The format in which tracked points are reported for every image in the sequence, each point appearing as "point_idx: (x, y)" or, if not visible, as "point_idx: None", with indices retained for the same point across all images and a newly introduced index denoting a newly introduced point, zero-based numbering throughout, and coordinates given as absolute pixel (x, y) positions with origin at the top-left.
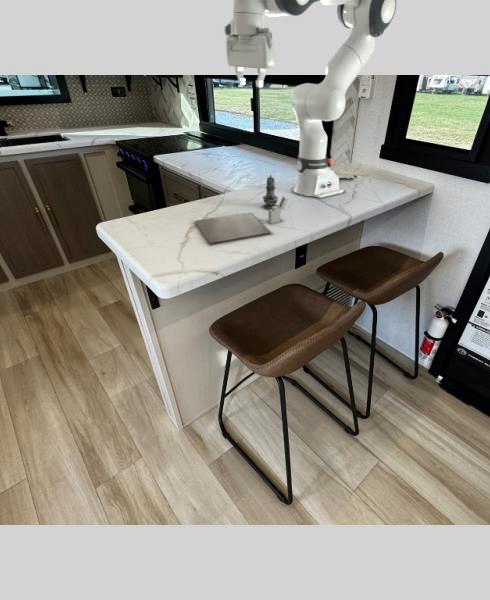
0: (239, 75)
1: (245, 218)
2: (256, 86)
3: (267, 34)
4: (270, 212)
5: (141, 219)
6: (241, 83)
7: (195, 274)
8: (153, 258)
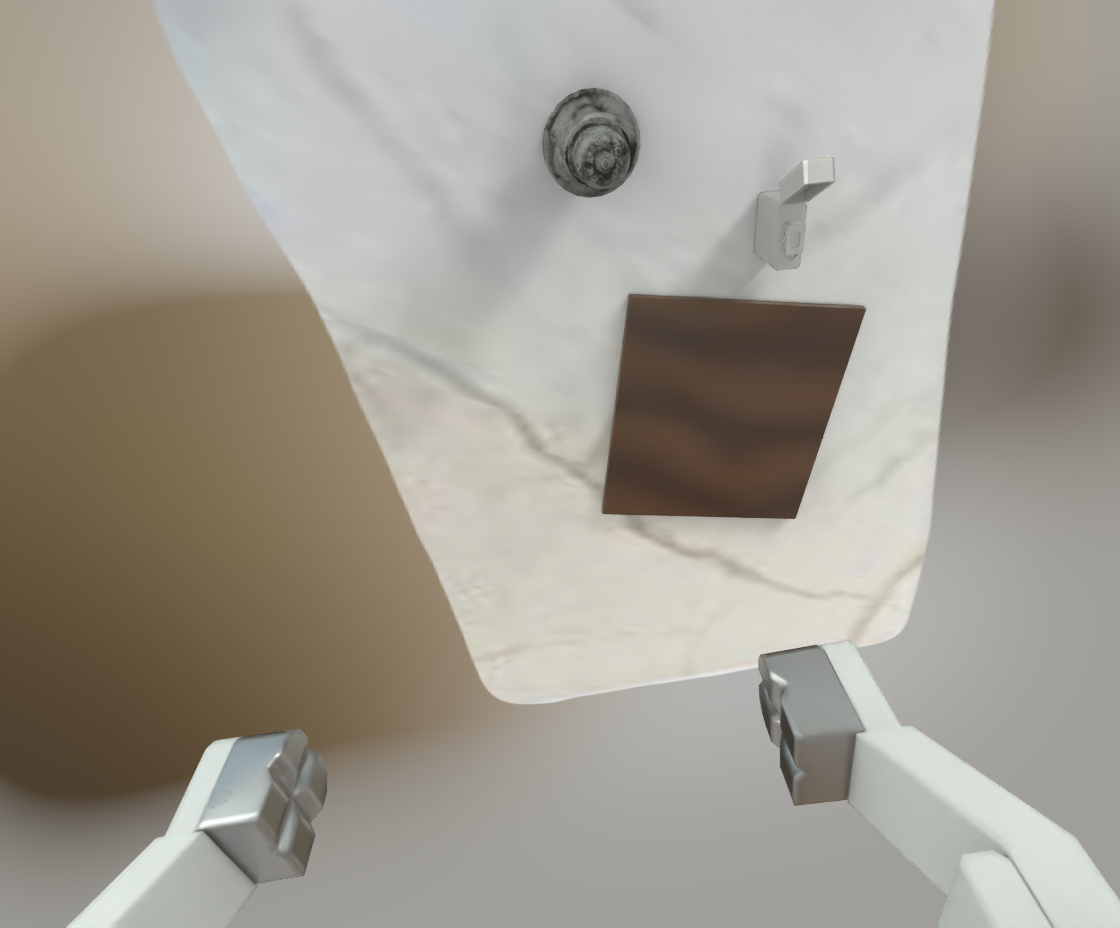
0: (201, 922)
1: (682, 344)
2: (767, 708)
3: None
4: (792, 266)
5: (499, 631)
6: (321, 787)
7: (910, 581)
8: (769, 637)
